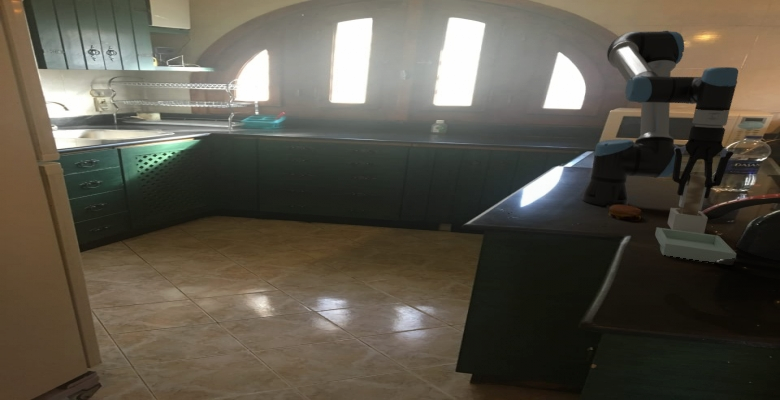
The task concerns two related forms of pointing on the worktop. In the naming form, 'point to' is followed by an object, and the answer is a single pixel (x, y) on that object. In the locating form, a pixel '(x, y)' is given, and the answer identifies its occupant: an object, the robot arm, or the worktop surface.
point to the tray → (693, 245)
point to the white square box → (687, 221)
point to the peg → (693, 194)
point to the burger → (625, 212)
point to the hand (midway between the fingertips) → (689, 207)
